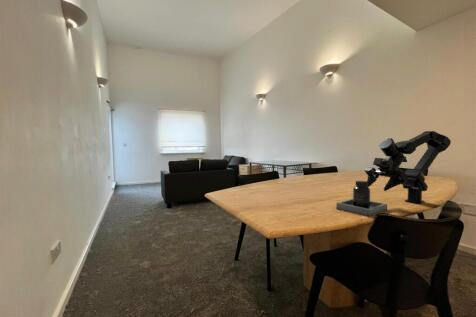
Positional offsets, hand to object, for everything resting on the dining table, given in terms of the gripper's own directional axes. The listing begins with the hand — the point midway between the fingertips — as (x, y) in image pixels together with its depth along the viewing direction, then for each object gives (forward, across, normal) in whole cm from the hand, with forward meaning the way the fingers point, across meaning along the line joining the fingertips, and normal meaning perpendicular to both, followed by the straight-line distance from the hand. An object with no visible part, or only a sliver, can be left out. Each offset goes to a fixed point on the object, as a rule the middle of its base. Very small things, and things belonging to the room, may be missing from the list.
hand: (375, 188), depth 112 cm
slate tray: (+12, 0, 0) cm, 12 cm away
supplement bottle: (+12, 0, 0) cm, 12 cm away
